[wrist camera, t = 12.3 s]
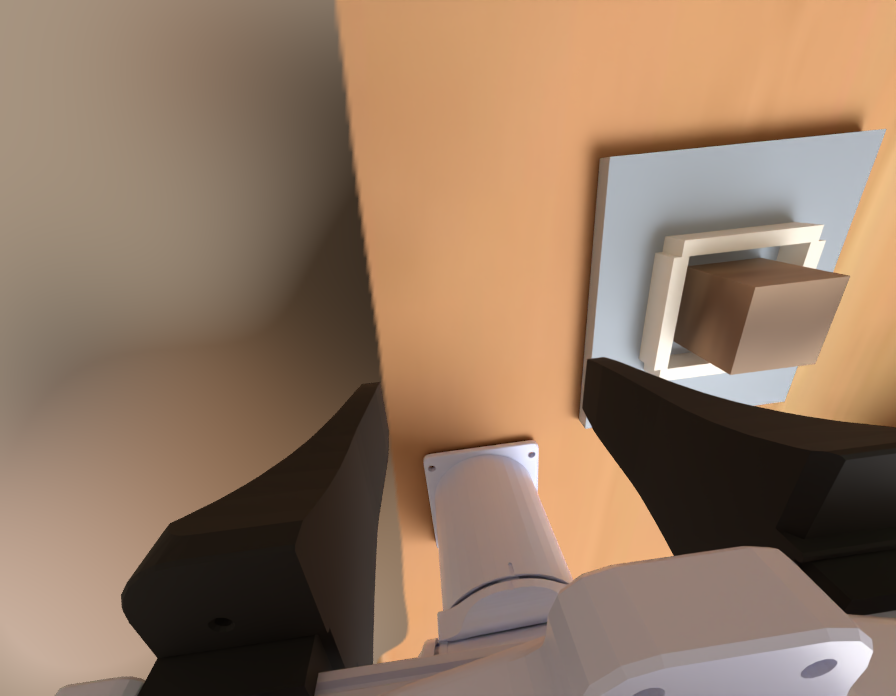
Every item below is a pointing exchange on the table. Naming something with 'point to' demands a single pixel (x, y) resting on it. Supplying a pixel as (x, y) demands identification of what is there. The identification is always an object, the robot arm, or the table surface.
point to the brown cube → (757, 313)
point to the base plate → (712, 242)
